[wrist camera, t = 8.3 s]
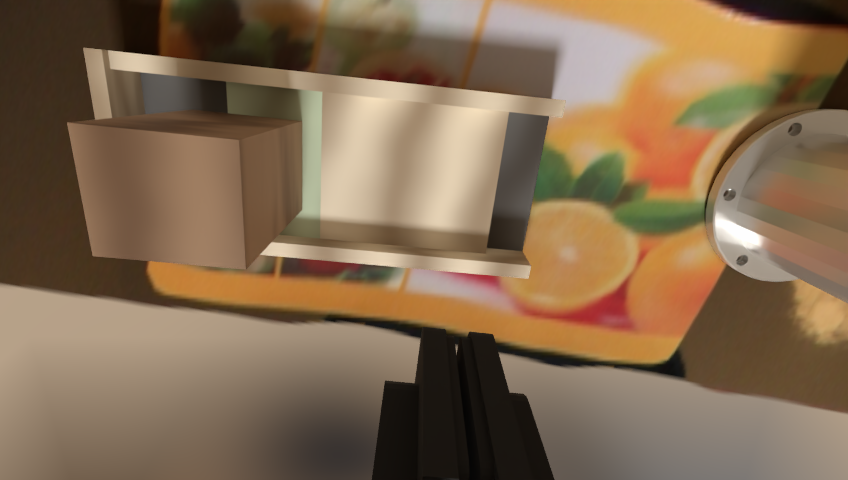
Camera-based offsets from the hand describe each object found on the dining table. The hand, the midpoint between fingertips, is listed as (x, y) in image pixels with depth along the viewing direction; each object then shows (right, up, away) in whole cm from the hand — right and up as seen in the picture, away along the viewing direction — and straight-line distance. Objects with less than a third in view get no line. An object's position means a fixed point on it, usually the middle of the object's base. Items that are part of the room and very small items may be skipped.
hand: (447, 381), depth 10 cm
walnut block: (-12, +9, +18) cm, 23 cm away
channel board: (-7, +9, +19) cm, 22 cm away
